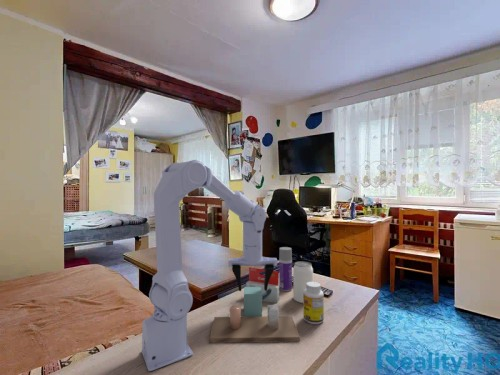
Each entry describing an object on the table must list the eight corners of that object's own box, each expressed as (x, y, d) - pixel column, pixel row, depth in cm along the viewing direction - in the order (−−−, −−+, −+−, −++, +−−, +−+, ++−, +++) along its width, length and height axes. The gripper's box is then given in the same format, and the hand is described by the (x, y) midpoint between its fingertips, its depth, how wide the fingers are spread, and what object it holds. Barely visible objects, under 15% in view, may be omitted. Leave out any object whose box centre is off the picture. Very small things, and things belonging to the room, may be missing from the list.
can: (315, 298, 85) (315, 262, 85) (309, 305, 80) (309, 268, 80) (297, 293, 89) (297, 260, 89) (290, 300, 83) (290, 264, 83)
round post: (233, 330, 64) (233, 311, 64) (228, 325, 66) (228, 306, 66) (242, 327, 66) (242, 308, 66) (237, 322, 68) (237, 304, 68)
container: (291, 291, 90) (291, 250, 90) (278, 290, 91) (278, 249, 91) (292, 286, 95) (292, 247, 95) (279, 285, 96) (279, 246, 96)
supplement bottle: (301, 315, 74) (301, 280, 74) (320, 314, 74) (319, 280, 74) (306, 325, 68) (306, 288, 68) (326, 325, 69) (326, 287, 69)
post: (268, 329, 65) (268, 309, 65) (267, 323, 67) (267, 305, 67) (278, 328, 65) (278, 309, 65) (277, 323, 68) (277, 304, 68)
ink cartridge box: (277, 303, 82) (277, 273, 82) (246, 297, 86) (246, 269, 86) (279, 300, 84) (279, 271, 84) (248, 294, 88) (248, 267, 88)
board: (209, 342, 61) (209, 338, 61) (214, 320, 71) (214, 317, 71) (299, 341, 61) (299, 337, 61) (292, 319, 71) (292, 316, 71)
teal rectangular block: (244, 316, 73) (244, 294, 73) (244, 308, 78) (244, 287, 78) (261, 316, 73) (261, 293, 73) (260, 308, 78) (260, 286, 78)
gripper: (275, 241, 80) (275, 284, 80) (229, 241, 80) (229, 284, 80) (278, 246, 73) (278, 293, 73) (228, 247, 73) (228, 294, 73)
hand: (252, 289), depth 76 cm, fingers open, 7 cm apart
